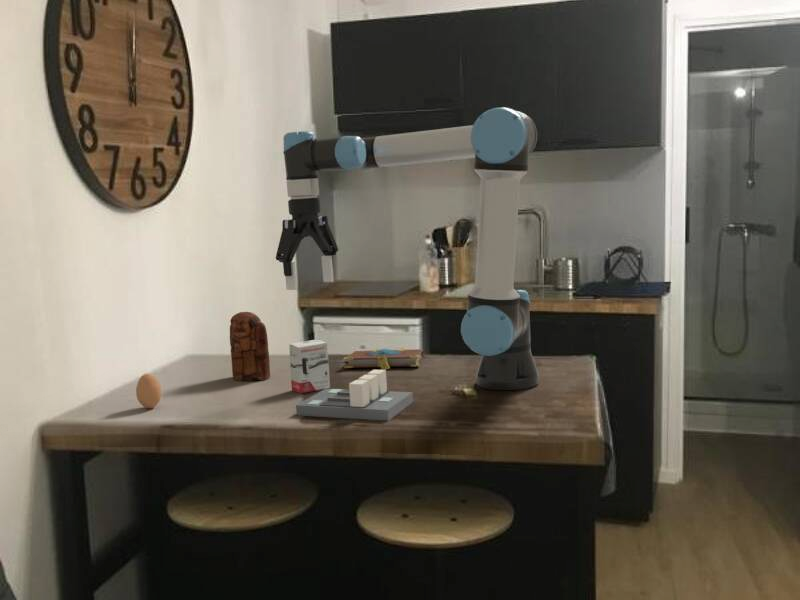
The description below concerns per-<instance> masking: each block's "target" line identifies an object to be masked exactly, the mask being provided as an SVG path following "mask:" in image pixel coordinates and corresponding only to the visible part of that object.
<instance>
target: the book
mask: <svg viewBox="0 0 800 600" xmlns="http://www.w3.org/2000/svg"><path fill="white" fill-rule="evenodd" d="M342 359H343V361H340V362H337V363H339V364H343V363H347V364H345V365H344V369H350V368H351V369H352V368H380V370H386V371H387V370H388V369H389V370H390V369H391V367H415V368H416V367H420V363H421V362H422V360H423V359H424V349H418V348H417V349H404V348H403V347H401V348H399V349H389V348H383V349H381V348H380V349H379V348H375V349H373V350H354V351H353V352H352V353H350V354H349V355H348V356H344V357H343V358H342Z"/></svg>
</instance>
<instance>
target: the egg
mask: <svg viewBox="0 0 800 600" xmlns="http://www.w3.org/2000/svg"><path fill="white" fill-rule="evenodd" d="M135 395H136V399H137V401H138V403H139V404H140V405H141V406H142V407H144V408H145V409H153V408H155V407H156V406H157V405H158V404H159V403H160V401H161V398H162V386H161V384H160V382H159V380H158V379H157V378H156V376H155V375H154V374H151V373H144V374H143V375H141V377H139V380H138V381H137V385H136V387H135Z"/></svg>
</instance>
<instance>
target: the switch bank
mask: <svg viewBox="0 0 800 600" xmlns="http://www.w3.org/2000/svg"><path fill="white" fill-rule="evenodd" d="M378 395H379V397H377V398H376V399H370V403H368V404H367V405H365V406H364V407H354V406H350V391H349V388H348V389H346V388H342V389H341V388H326V389H321V390H320V391H319V392H317V393H315V394H314V395H312V396H310V397H309V398H307V399H305V400H303V401H301V402H298V403H297V404H296V405H295V411H296V416H302V417H307V416H308V417H321V418H322V417H323V418H337V419H354V420H355V419H356V420H371V421H384V422H385V421H390V420H391V419H392V418H394V417H396V416H397V415H398V414H399V413H400V412H402V411H403V410H404V409H406V408H407V407H409V406H410V405H411V404H413V403H414V398H413V397H414V396H413V395H414V393H413V392H412V391H390V390H387V392H385V393H384V394H381V393H378Z"/></svg>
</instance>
